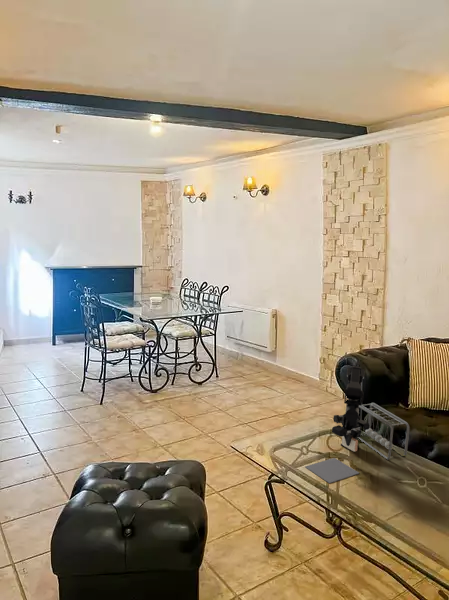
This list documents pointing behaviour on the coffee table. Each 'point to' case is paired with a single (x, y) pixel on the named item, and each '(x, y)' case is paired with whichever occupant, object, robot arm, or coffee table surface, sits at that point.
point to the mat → (332, 470)
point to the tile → (352, 444)
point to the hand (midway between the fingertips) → (349, 445)
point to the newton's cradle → (374, 434)
